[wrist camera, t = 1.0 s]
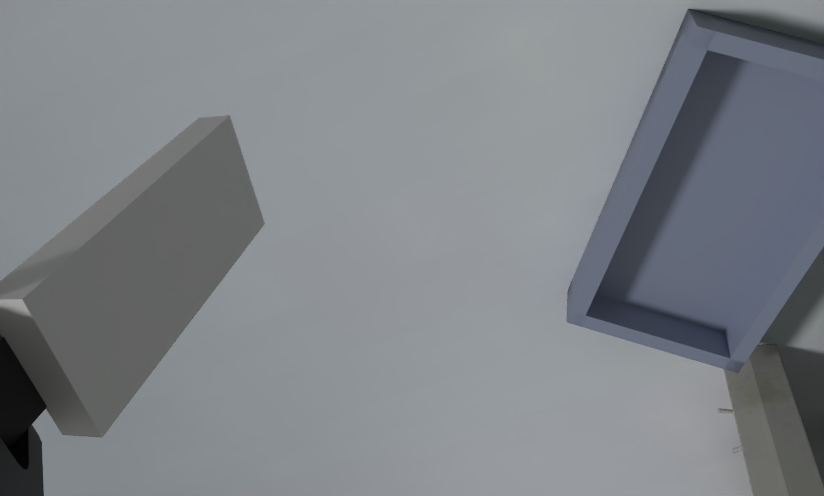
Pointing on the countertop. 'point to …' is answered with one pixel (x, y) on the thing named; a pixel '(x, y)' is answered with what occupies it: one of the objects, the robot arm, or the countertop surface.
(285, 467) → the countertop surface
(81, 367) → the robot arm
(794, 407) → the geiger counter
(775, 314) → the tray
